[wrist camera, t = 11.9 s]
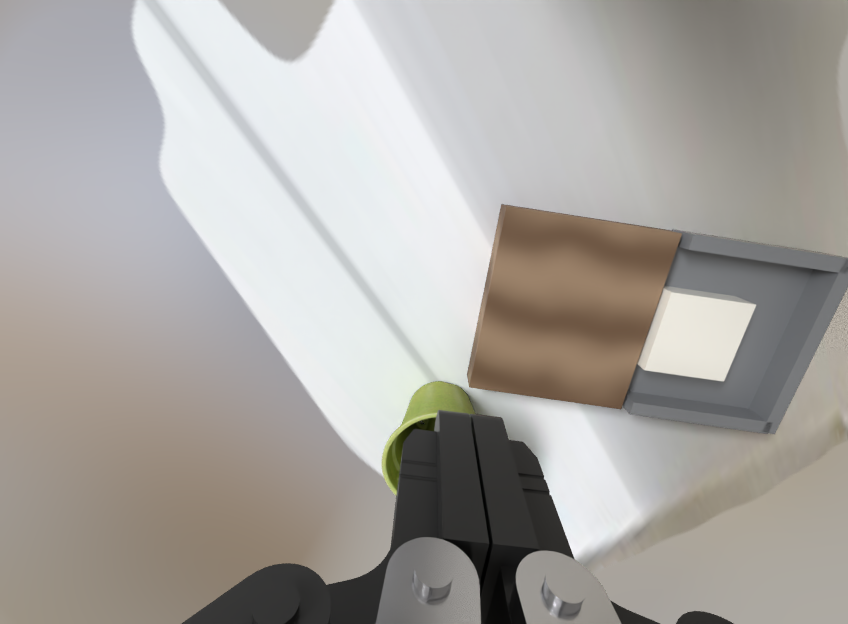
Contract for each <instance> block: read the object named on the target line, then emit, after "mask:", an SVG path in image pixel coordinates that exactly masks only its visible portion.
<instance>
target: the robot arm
mask: <svg viewBox="0 0 848 624" xmlns="http://www.w3.org/2000/svg"><path fill="white" fill-rule="evenodd" d="M549 492H550V491H549V489H548V486H547V483H546V480H544V475H543V472H542V469H541V467H540V464H539V461H538V459H537V457H536V456H535V455H534V454H533V453H532V452H531V450H530V449H529V448H528V447H527V446H526V445H525V444H524V443H523V442H519V441H511V440H508V436H507V433H506V429H505V425H504V422H503V419H502V418H501V417H494V416H486V415H478V414H470V415H469V414H468V413H461V412H452V411H444V410H438V412H437V416H436V422H435V428H434V431H427V430H419V429H414V430H413V431H412V432H411V433H410V435H409V436H408V437H407V438H406V440H405V441H404V442H403V450H402V457H401V465H400V472H399V480H398V487H397V494H396V503H395V513H394V521H393V531H392V540H391V548H390V551H389V552H388V554H387V556H386V557H385V559H384V560H383V561H382V562H381V564H379V565H378V566H377V567H376V568H375V569H373V570H372V571H370V572H369V573H367V574H365V575H363V576H360V577H358V578H354V579H351V580H347V581H342V582H338V583H333V584H329V585H326V584H325V583H324V581H323V580H322V579H321V577H320V576H319V575H318V574H316V572H314V571H313V570H311V569H309V568H307V567H305V566H301V565H298V564H277V565H272V566H269V567H266V568H263V569H261V570H259V571H257V572H255V573H253V574H252V575H250V576H248V577H247V578H246V579H244V580H243V581H241V582H240V583H239V584H237V585H236V586H234V587H233V588H231V589H230V590H229V591H227V592H226V593H224V594H223V595H221V596H220V597H219V598H217V599H216V600H215V601H213V602H212V603H210V604H209V605H207V606H206V607H204V608H203V609H202V610H200V611H199V612H197V613H196V614H195V615H193V616H192V617H190V618H189V619H188V620H186V621H185V622H183V623H182V624H660V623H657V622H655V621H652V620H650V619H648V618H645V617H643V616H641V615H638V614H636V613H633V612H631V611H629V610H626V609H625V608H623V607H621V606H619V605H617V604H615V603H614V602H612V601H610V599H609V597H608V595H607V593H606V591H605V590H604V588H603V586H602V585H601V583H600V582H599V581H598V579H597V578H596V577H595V576H594V575H593V574H592V573H591V572H590V571H589V570H588V569H587V568H586V567H585V566H583V565H582V564H581V563H579V562H578V561H576V560H575V559H574V557H573V554H572V551H571V549H570V546H569V543H568V540H567V538H566V535H565V532H564V530H563V527H562V524H561V521H560V519H559V516H558V513H557V510H556V508H555V505H554V502H553V500H552V497H551V495H549ZM676 624H733V623H732V622H730V621H728V620H726V619H724V618H722V617H719V616H717V615H714V614H711V613H707V612H700V611H693V612H688V613H686V614H683V615H682V616H681V617H680V618H679V619H678V621H677V623H676Z"/></svg>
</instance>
